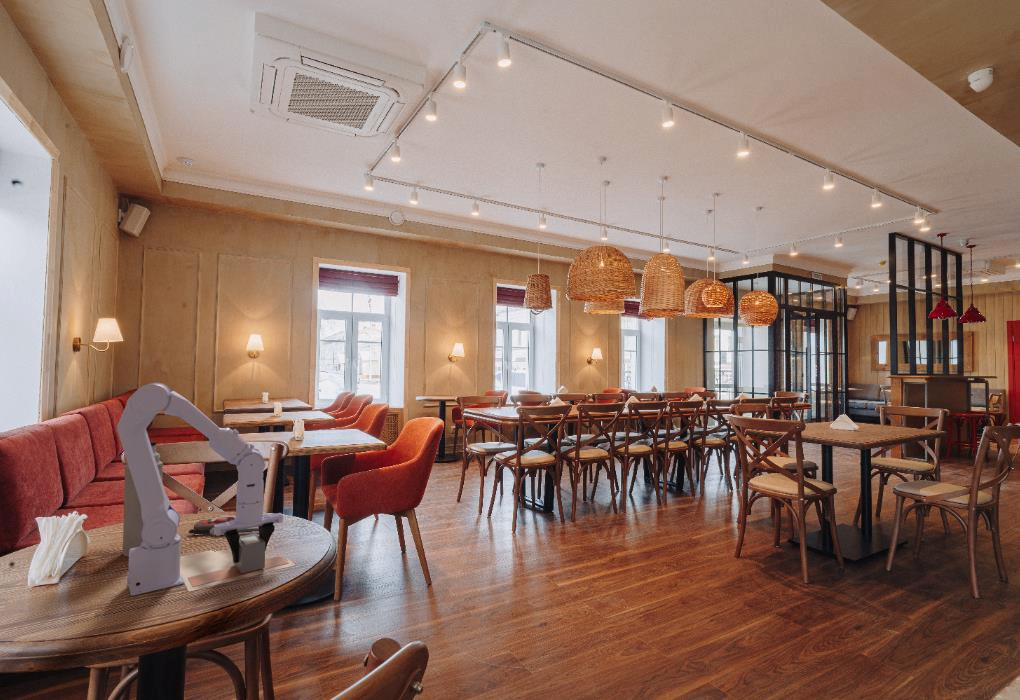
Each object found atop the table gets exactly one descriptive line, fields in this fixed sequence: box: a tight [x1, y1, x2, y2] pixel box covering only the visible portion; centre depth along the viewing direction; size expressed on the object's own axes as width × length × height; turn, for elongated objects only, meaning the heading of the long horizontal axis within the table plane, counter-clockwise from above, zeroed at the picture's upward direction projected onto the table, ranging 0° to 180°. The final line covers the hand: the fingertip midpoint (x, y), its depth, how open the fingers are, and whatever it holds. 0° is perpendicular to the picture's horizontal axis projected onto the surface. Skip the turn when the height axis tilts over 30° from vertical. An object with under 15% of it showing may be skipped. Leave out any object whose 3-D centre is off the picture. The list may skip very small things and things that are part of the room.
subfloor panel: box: [180, 548, 296, 593], centre depth 124 cm, size 22×24×1 cm
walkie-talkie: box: [188, 514, 259, 537], centre depth 146 cm, size 9×4×20 cm
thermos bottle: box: [122, 440, 164, 558], centre depth 131 cm, size 8×8×28 cm
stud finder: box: [233, 533, 265, 573], centre depth 120 cm, size 5×8×6 cm, turn 41°
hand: (248, 558), depth 120 cm, fingers closed on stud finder, 5 cm apart
